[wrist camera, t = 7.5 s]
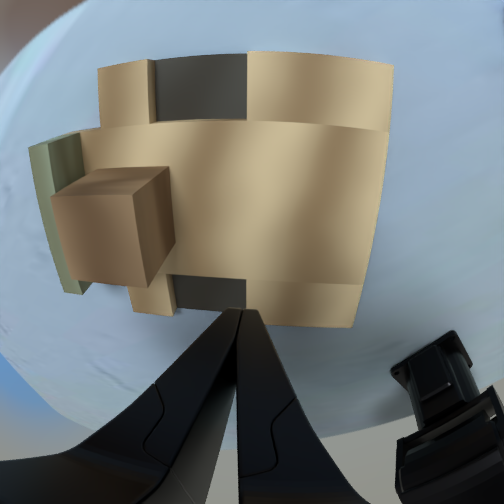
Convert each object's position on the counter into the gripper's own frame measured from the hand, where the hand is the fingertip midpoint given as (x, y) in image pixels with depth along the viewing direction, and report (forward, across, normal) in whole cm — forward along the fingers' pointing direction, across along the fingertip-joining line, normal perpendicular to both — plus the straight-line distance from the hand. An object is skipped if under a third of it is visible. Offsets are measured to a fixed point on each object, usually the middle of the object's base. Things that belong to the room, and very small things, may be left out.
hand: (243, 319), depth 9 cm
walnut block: (+9, +7, 0) cm, 11 cm away
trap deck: (+10, +2, 0) cm, 10 cm away
